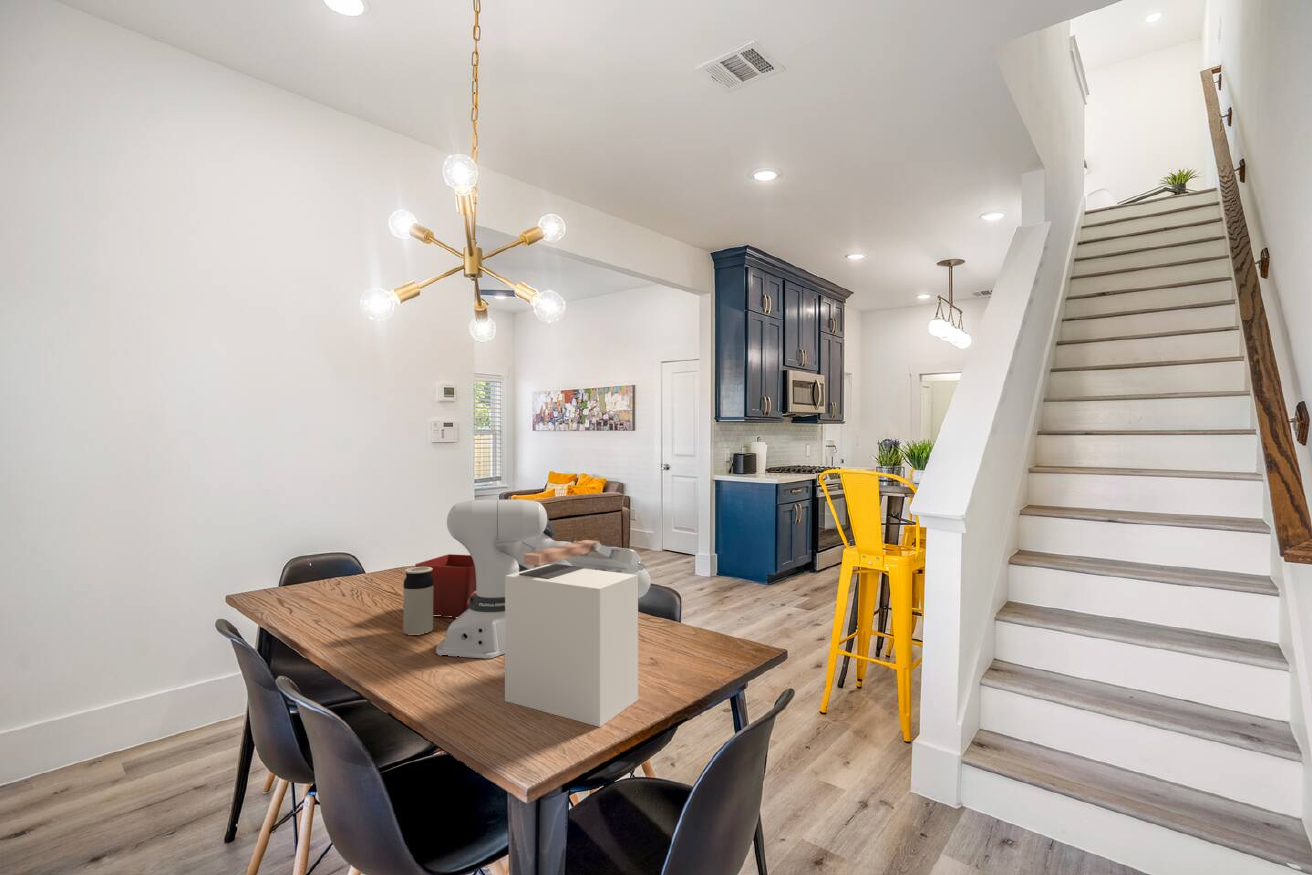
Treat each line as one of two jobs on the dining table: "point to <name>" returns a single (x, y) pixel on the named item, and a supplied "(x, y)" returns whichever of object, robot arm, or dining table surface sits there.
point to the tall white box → (572, 641)
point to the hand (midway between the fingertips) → (584, 544)
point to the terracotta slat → (558, 553)
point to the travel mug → (418, 600)
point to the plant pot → (451, 583)
